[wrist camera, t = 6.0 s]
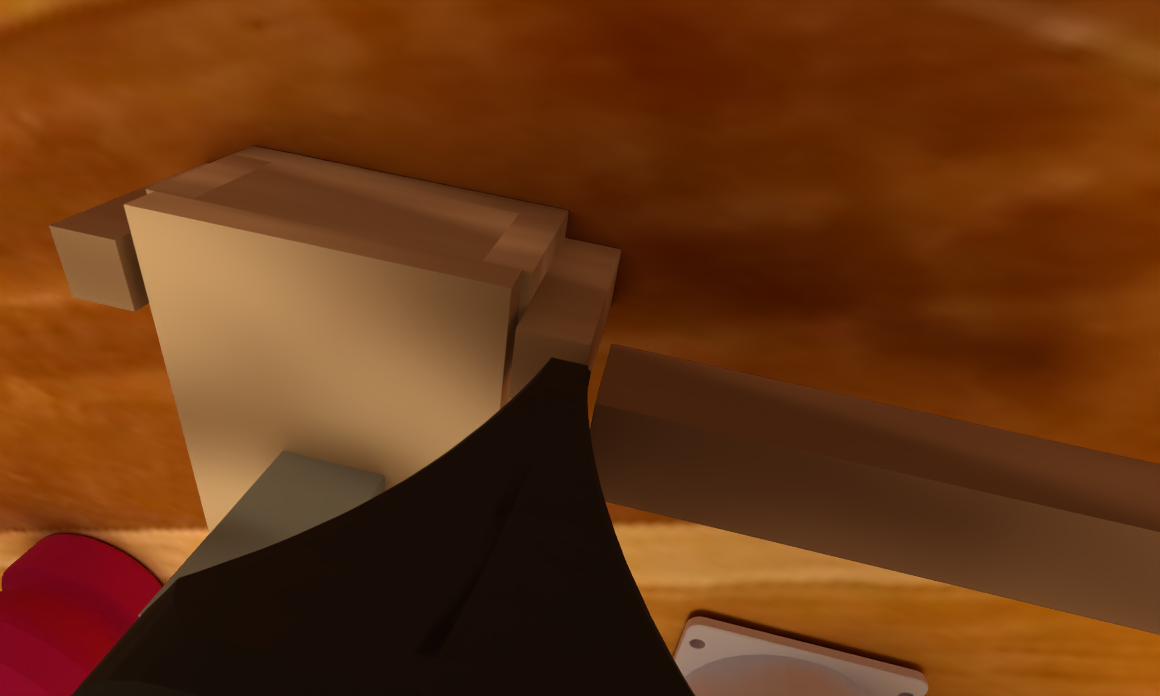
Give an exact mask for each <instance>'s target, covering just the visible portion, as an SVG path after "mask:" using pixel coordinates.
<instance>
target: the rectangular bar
mask: <svg viewBox="0 0 1160 696" xmlns="http://www.w3.org/2000/svg"><path fill="white" fill-rule="evenodd" d="M590 434H591V441H592V447H593V453H594V458H595V463H596V468H597V472H598V476H599V480H600V484H601V488H602V492H603V496H604V499H605V501H606V502H610V503H614V504H618V505H622V506H627V507H631V508H635V509H639V510H643V511H647V512H652V513H656V514H660V515H664V516H668V517H672V518H677V519H681V520H685V521H689V522H693V523H697V524H701V525H706V526H710V527H714V528H718V529H722V530H726V531H731V532H735V533H739V534H743V535H747V536H751V537H756V538H760V539H764V540H768V541H772V542H776V543H781V544H785V545H789V546H793V547H797V548H801V549H805V550H810V551H814V552H818V553H822V554H826V555H830V556H835V557H839V558H843V559H847V560H851V561H855V562H860V563H864V564H868V565H872V566H876V567H880V568H884V569H889V570H893V571H897V572H901V573H905V574H909V575H914V576H918V577H922V578H926V579H930V580H934V581H939V582H943V583H947V584H951V585H955V586H959V587H963V588H968V589H972V590H976V591H980V592H984V593H988V594H993V595H997V596H1001V597H1005V598H1009V599H1013V600H1018V601H1022V602H1026V603H1030V604H1034V605H1038V606H1042V607H1047V608H1051V609H1055V610H1059V611H1063V612H1067V613H1072V614H1076V615H1080V616H1084V617H1088V618H1092V619H1097V620H1101V621H1105V622H1109V623H1113V624H1117V625H1121V626H1126V627H1130V628H1134V629H1138V630H1142V631H1146V632H1151V633H1155V634H1159V635H1160V464H1155V463H1151V462H1146V461H1142V460H1137V459H1133V458H1128V457H1124V456H1119V455H1114V454H1110V453H1105V452H1101V451H1096V450H1092V449H1087V448H1083V447H1078V446H1074V445H1069V444H1065V443H1060V442H1056V441H1051V440H1046V439H1042V438H1037V437H1033V436H1028V435H1024V434H1019V433H1015V432H1010V431H1006V430H1001V429H997V428H992V427H988V426H983V425H978V424H974V423H969V422H965V421H960V420H956V419H951V418H947V417H942V416H938V415H933V414H929V413H924V412H920V411H915V410H910V409H906V408H901V407H897V406H892V405H888V404H883V403H879V402H874V401H870V400H865V399H861V398H856V397H852V396H847V395H842V394H838V393H833V392H829V391H824V390H820V389H815V388H811V387H806V386H802V385H797V384H793V383H788V382H784V381H779V380H774V379H770V378H765V377H761V376H756V375H752V374H747V373H743V372H738V371H734V370H729V369H725V368H720V367H716V366H711V365H706V364H702V363H697V362H693V361H688V360H684V359H679V358H675V357H670V356H666V355H661V354H657V353H652V352H648V351H643V350H638V349H634V348H629V347H625V346H620V345H616V344H611V348H610V351H609V355H608V359H607V362H606V366H605V370H604V373H603V377H602V381H601V384H600V388H599V392H598V395H597V399H596V402H595V407H594V412H593V417H592V422H591V428H590Z"/></svg>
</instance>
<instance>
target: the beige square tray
mask: <svg viewBox="0 0 1160 696" xmlns="http://www.w3.org/2000/svg"><path fill="white" fill-rule="evenodd" d="M154 191H156V192H161V193H166V194H170V195H175V196H180V197H184V198H189V199H194V200H198V201H203V202H208V203H212V204H217V205H222V206H226V207H231V208H236V209H240V210H245V211H250V212H254V213H259V214H264V215H268V216H273V217H278V218H282V219H287V220H292V221H297V222H301V223H306V224H311V225H315V226H320V227H325V228H329V229H334V230H339V231H343V232H348V233H353V234H357V235H362V236H367V237H371V238H376V239H381V240H385V241H390V242H395V243H399V244H404V245H409V246H413V247H418V248H423V249H428V250H432V251H437V252H442V253H446V254H451V255H456V256H460V257H465V258H470V259H474V260H479V261H484V262H488V263H493V264H498V265H502V266H507V267H512V268H516V269H521V270H523V273H522V282H521V292H520V302H519V311H518V321H517V328H516V332H515V342H514V351H513V361H512V371H511V381H510V391H509V398H510V399H509V401H510V400H511V399H512V398H513V397H514V396H515V395H516V394H518V393H519V392H520V391H521V390H522V389H523V388H524V387H525V386H526V385H527V384H528V383H529V382H530V381H531V380H532V379H533V378H534V377H535V375H536V374H537V373H538V372H539V371H540V370H541V369H542V368H543V367H544V365H545V364H546V363H547V362H548V361H549V360H550V359H551V357H552V358H557V359H561V360H566V361H570V362H575V363H579V364H584V365H588V369H589V370H590V372H591V370H592V366H593V363H594V360H595V357H596V353H597V350H598V347H599V343H600V340H601V337H602V334H603V330H604V327H605V324H606V320H607V317H608V314H609V311H610V307H611V302H612V297H613V292H614V287H615V282H616V277H617V271H618V266H619V261H620V256H621V251H622V249H617V248H612V247H607V246H603V245H598V244H593V243H588V242H583V241H579V240H574V239H569V238H565V235H566V228H567V221H568V214H569V210H565V209H560V208H555V207H550V206H545V205H540V204H535V203H531V202H526V201H521V200H516V199H511V198H506V197H501V196H496V195H492V194H487V193H482V192H477V191H472V190H467V189H462V188H457V187H453V186H448V185H443V184H438V183H433V182H428V181H423V180H418V179H414V178H409V177H404V176H399V175H394V174H389V173H384V172H379V171H375V170H370V169H365V168H360V167H355V166H350V165H345V164H340V163H335V162H331V161H326V160H321V159H316V158H311V157H306V156H301V155H296V154H292V153H287V152H282V151H277V150H272V149H267V148H262V147H257V146H251V147H248V148H246V149H243V150H241V151H238V152H236V153H234V154H231V155H229V156H226V157H224V158H221V159H219V160H216V161H214V162H211V163H203V164H201V165H198V166H196V167H193V168H191V169H188V170H186V171H183V172H181V173H178V174H176V175H173V176H171V177H168V178H166V179H163V180H161V181H158V182H156V183H153V184H151V185H149V186H146V187H144V188H141V189H139V190H136V191H134V192H131V193H129V194H126V195H124V196H121V197H119V198H116V199H114V200H111V201H109V202H106V203H104V204H101V205H99V206H96V207H94V208H91V209H89V210H86V211H84V212H81V213H79V214H76V215H74V216H72V217H69V218H67V219H64V220H62V221H59V222H57V223H54V224H52V225H49V227H50V230H51V233H52V236H53V239H54V242H55V245H56V248H57V251H58V254H59V257H60V260H61V263H62V266H63V269H64V272H65V275H66V278H67V281H68V284H69V287H70V290H71V293H72V296H73V297H74V298H78V299H82V300H87V301H91V302H95V303H100V304H104V305H108V306H113V307H117V308H121V309H126V310H130V311H134V312H135V311H137V310H138V309H140V308H142V307H143V306H145V305H146V304H148V303H149V300H148V296H147V292H146V288H145V284H144V281H143V277H142V273H141V269H140V265H139V262H138V258H137V254H136V250H135V246H134V242H133V239H132V235H131V231H130V227H129V223H128V219H127V216H126V212H125V208H124V204H126V203H128V202H130V201H133V200H135V199H138V198H140V197H142V196H145V195H147V194H149V193H152V192H154Z"/></svg>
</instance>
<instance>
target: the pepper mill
mask: <svg viewBox="0 0 1160 696" xmlns="http://www.w3.org/2000/svg"><path fill="white" fill-rule="evenodd" d="M161 589H162V585H161V584H160V583H159V582H158V580H157V579H156V578H155V577H154V576H153V575H152V574H151V573H150V572H149V571H148V570H147V569H145V568H144V567H143V566H142V565H140V564H139V563H138V562H137V561H135V560H134V559H133V558H131V557H130V556H128V555H127V554H125V553H123V552H122V551H120V550H118V549H116V548H114V547H112V546H110V545H107V544H105V543H103V542H100V541H98V540H95V539H92V538H89V537H85V536H81V535H75V534H54V535H51V536H48V537H45V538H43V539H41V540H40V541H39V542H37V543H36V544H35V545H34V546H33V547H32V548H30V549H29V550H28V551H27V552H26V553H25V554H23V555H22V556H21V557H20V558H19V559H18V560H16V561H15V562H14V563H13V564H12V565H11V566H10V567H8V568H7V570H6V571H5V572H4V573H3V576H2V590H3V591H0V696H71V695H72V694H73V692H74V691H75V690H76V689H77V688H78V687H79V686H80V684H81V683H82V682H83V681H84V680H85V679H86V677H87V676H88V675H89V674H90V673H91V672H92V671H93V669H94V668H95V667H96V666H97V665H98V664H99V663H100V661H101V660H102V659H103V658H104V657H105V656H106V654H107V653H108V652H109V651H110V650H111V649H112V648H113V646H114V645H115V644H116V643H117V642H118V641H119V639H120V638H121V637H122V636H123V635H124V634H125V633H126V631H127V630H128V629H129V628H130V627H131V626H132V625H133V624H134V622H135V621H136V620H137V619H138V618H139V614H140V612H141V611H142V610H143V609H144V608H145V607H146V606H147V604H148V603H149V602H150V601H151V600H152V599H153V598H154V596H155V595H156V594H157V593H158V592H159V591H160V590H161Z"/></svg>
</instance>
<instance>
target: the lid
mask: <svg viewBox="0 0 1160 696" xmlns="http://www.w3.org/2000/svg"><path fill="white" fill-rule="evenodd" d="M124 208H125V212H126V216H127V219H128V223H129V227H130V231H131V235H132V239H133V242H134V246H135V250H136V254H137V258H138V262H139V265H140V269H141V273H142V277H143V281H144V284H145V288H146V292H147V296H148V300H149V304H150V307H151V311H152V315H153V319H154V323H155V327H156V330H157V334H158V338H159V342H160V346H161V349H162V353H163V357H164V361H165V365H166V369H167V372H168V376H169V380H170V384H171V388H172V391H173V395H174V399H175V403H176V407H177V411H178V414H179V418H180V422H181V426H182V430H183V434H184V437H185V441H186V445H187V449H188V453H189V456H190V460H191V464H192V468H193V472H194V476H195V479H196V483H197V487H198V491H199V495H200V499H201V502H202V506H203V510H204V514H205V518H206V521H207V525H208V529H209V533H210V534H209V535H208V536H207V537H206V539H205V540H204V541H203V542H202V543H201V544H200V545H199V546H198V548H197V549H196V550H195V551H194V552H193V553H192V554H191V556H190V557H189V558H188V559H187V560H186V561H185V562H184V564H183V565H182V566H181V567H180V568H179V569H178V570H177V571H176V573H175V574H174V575H173V576H172V577H171V578H170V579H169V581H168V582H167V583H166V584H165V585H164V586H163V587H162V589H161V590H160V591H159V592H158V593H157V594H156V595H155V596H154V598H153V599H152V600H151V601H150V602H149V603H148V604H147V606H146V607H145V608H144V609H143V610H142V611H141V612H140V614H139V617H140V616H141V615H142V614H143V613H144V611H145V610H146V609H147V608H148V607H149V606H150V605H151V604H152V603H154V602H155V601H156V600H157V599H158V598H159V597H160V596H161V595H162V594H163V593H164V592H165V591H166V590H167V589H168V588H169V587H170V586H171V585H172V584H173V583H174V582H175V581H176V580H177V579H178V578H180V577H183V576H186V575H189V574H192V573H195V572H198V571H201V570H204V569H207V568H210V567H212V566H215V565H218V564H221V563H224V562H226V561H229V560H232V559H235V558H238V557H240V556H243V555H246V554H249V553H252V552H254V551H257V550H260V549H263V548H265V547H268V546H270V545H273V544H275V543H278V542H280V541H283V540H285V539H288V538H290V537H292V536H295V535H297V534H299V533H301V532H304V531H306V530H308V529H310V528H312V527H315V526H317V525H319V524H321V523H323V522H326V521H328V520H330V519H332V518H334V517H337V516H339V515H341V514H343V513H345V512H347V511H349V510H351V509H353V508H355V507H357V506H359V505H361V504H363V503H364V502H366V501H368V500H370V499H372V498H374V497H375V496H377V495H379V494H381V493H382V492H384V491H386V490H388V489H389V488H391V487H393V486H395V485H397V484H398V483H400V482H402V481H403V480H405V479H407V478H408V477H410V476H411V475H413V474H415V473H416V472H418V471H419V470H421V469H422V468H424V467H426V466H427V465H429V464H430V463H432V462H433V461H435V460H436V459H438V458H439V457H440V456H442V455H443V454H445V453H446V452H447V451H449V450H450V449H452V448H453V447H454V446H456V445H457V444H458V443H459V442H461V441H462V440H463V439H465V438H466V437H467V436H468V435H470V434H471V433H472V432H474V431H475V430H476V429H477V428H479V427H480V426H481V425H483V424H484V423H485V422H486V421H487V420H489V419H490V418H491V417H492V416H493V415H494V414H495V413H497V412H498V411H499V410H500V409H501V408H502V407H503V406H504V405H506V404H507V403H508V402H509V399H510V398H509V391H510V381H511V371H512V361H513V351H514V342H515V332H516V328H517V321H518V311H519V302H520V292H521V282H522V273H523V270H521V269H516V268H512V267H507V266H502V265H498V264H493V263H488V262H484V261H479V260H474V259H470V258H465V257H460V256H456V255H451V254H446V253H442V252H437V251H432V250H428V249H423V248H418V247H413V246H409V245H404V244H399V243H395V242H390V241H385V240H381V239H376V238H371V237H367V236H362V235H357V234H353V233H348V232H343V231H339V230H334V229H329V228H325V227H320V226H315V225H311V224H306V223H301V222H297V221H292V220H287V219H282V218H278V217H273V216H268V215H264V214H259V213H254V212H250V211H245V210H240V209H236V208H231V207H226V206H222V205H217V204H212V203H208V202H203V201H198V200H194V199H189V198H184V197H180V196H175V195H170V194H166V193H161V192H156V191H154V192H152V193H149V194H147V195H145V196H142V197H140V198H138V199H135V200H133V201H130V202H128V203H126V204H124Z"/></svg>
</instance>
